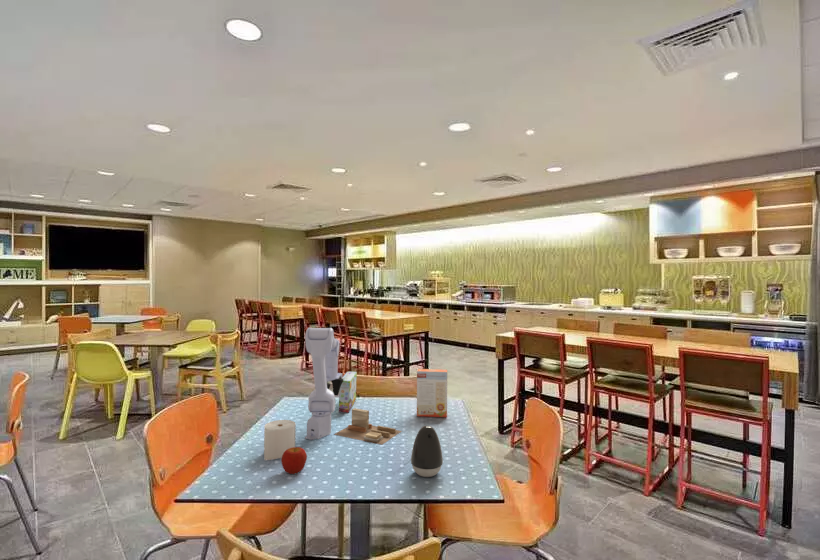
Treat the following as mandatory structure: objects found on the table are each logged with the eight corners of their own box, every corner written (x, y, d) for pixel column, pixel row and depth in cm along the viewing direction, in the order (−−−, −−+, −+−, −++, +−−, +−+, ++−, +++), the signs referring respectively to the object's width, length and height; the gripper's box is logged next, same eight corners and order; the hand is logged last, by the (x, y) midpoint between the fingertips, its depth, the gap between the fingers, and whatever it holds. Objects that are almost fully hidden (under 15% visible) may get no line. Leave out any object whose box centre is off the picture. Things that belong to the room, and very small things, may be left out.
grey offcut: (377, 442, 155) (377, 439, 155) (364, 439, 158) (364, 437, 158) (382, 439, 159) (383, 436, 159) (369, 436, 162) (369, 433, 162)
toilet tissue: (295, 445, 154) (295, 418, 155) (295, 459, 143) (295, 429, 143) (265, 448, 152) (265, 420, 152) (262, 462, 140) (262, 432, 140)
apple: (296, 464, 139) (297, 441, 139) (311, 471, 134) (312, 447, 134) (276, 472, 133) (276, 447, 133) (291, 480, 128) (291, 454, 128)
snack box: (350, 413, 194) (350, 380, 194) (338, 412, 194) (338, 380, 194) (356, 400, 215) (357, 371, 215) (345, 400, 215) (346, 370, 216)
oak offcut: (376, 439, 156) (376, 436, 156) (365, 437, 158) (365, 434, 158) (381, 436, 159) (381, 433, 159) (370, 434, 161) (370, 431, 161)
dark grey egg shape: (416, 483, 127) (416, 433, 127) (407, 468, 137) (407, 422, 137) (447, 479, 130) (448, 430, 130) (436, 465, 140) (437, 419, 140)
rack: (381, 447, 153) (382, 440, 153) (333, 437, 163) (333, 430, 163) (402, 434, 168) (402, 427, 168) (356, 425, 178) (356, 418, 178)
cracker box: (447, 413, 195) (447, 369, 195) (447, 418, 189) (447, 371, 189) (417, 412, 196) (417, 368, 196) (416, 416, 190) (416, 370, 190)
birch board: (366, 430, 168) (366, 412, 168) (351, 427, 171) (351, 409, 171) (368, 429, 170) (368, 410, 170) (354, 426, 173) (354, 408, 173)
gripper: (328, 370, 174) (327, 402, 174) (348, 364, 187) (347, 394, 187) (314, 368, 177) (314, 400, 177) (335, 362, 190) (334, 392, 190)
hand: (330, 397), depth 183 cm, fingers open, 7 cm apart
